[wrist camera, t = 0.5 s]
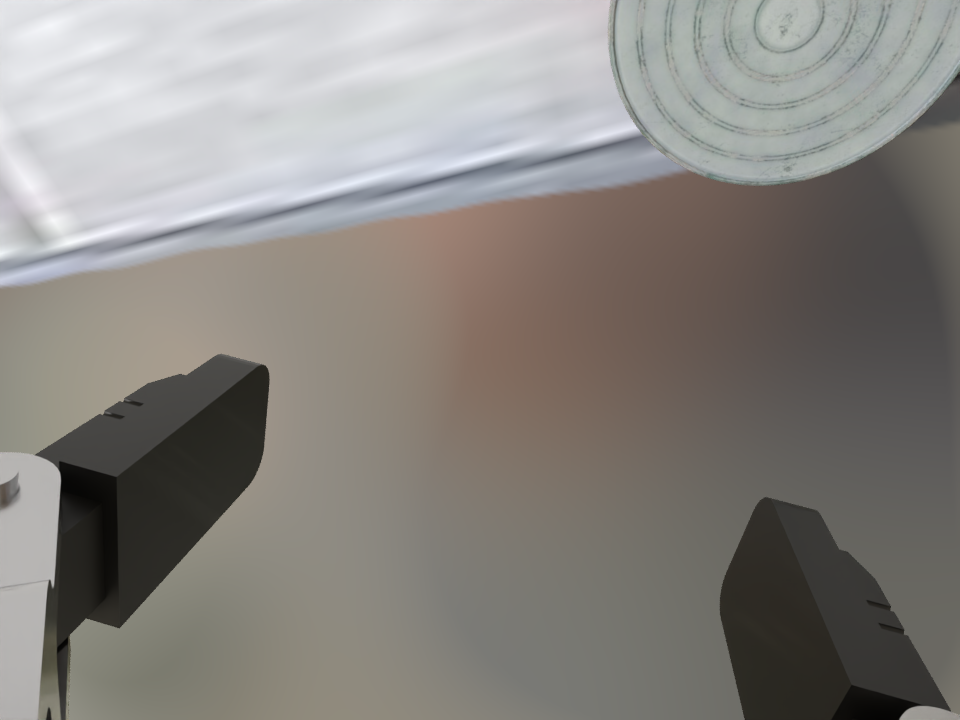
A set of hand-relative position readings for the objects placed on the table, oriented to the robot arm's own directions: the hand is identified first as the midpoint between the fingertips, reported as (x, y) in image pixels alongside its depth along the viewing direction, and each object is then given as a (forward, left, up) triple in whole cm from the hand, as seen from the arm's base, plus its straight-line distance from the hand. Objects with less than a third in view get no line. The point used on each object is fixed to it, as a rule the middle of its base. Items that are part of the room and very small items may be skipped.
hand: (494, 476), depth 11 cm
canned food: (0, +7, -30) cm, 31 cm away
